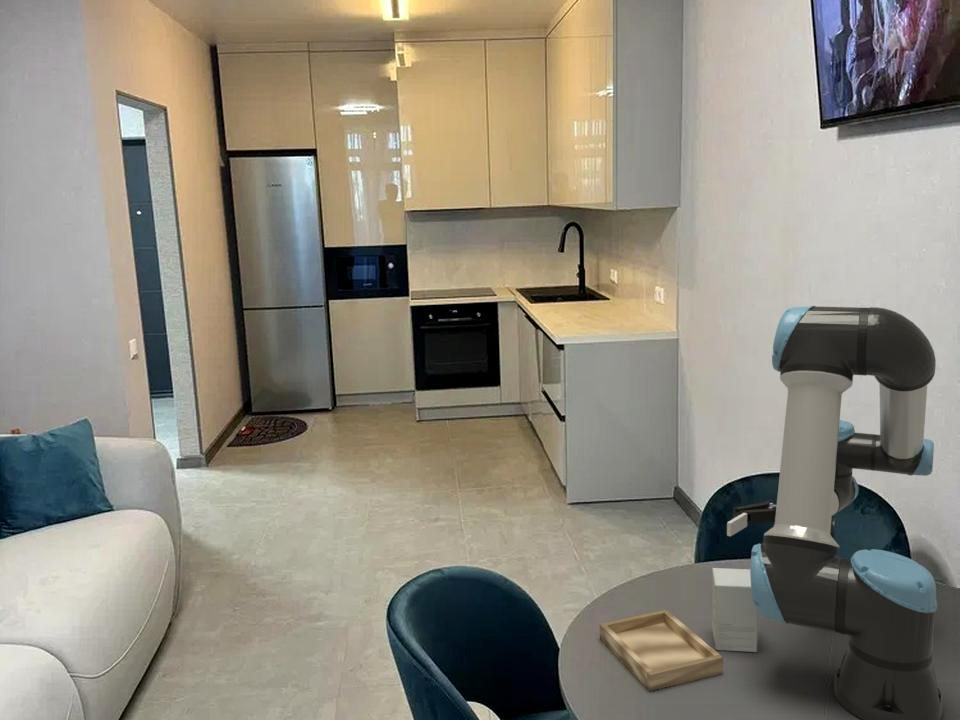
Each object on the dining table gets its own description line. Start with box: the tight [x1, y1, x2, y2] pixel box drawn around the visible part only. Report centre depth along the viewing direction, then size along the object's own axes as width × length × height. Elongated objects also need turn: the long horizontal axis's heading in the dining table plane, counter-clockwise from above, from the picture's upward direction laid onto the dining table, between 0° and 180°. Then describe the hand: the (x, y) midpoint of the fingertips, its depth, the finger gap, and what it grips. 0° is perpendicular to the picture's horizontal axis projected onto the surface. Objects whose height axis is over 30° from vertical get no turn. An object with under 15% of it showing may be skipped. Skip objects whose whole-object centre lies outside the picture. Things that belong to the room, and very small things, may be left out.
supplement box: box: [711, 567, 759, 653], centre depth 142 cm, size 7×7×13 cm
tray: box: [599, 609, 724, 692], centre depth 139 cm, size 18×14×3 cm
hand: (761, 538), depth 147 cm, fingers open, 13 cm apart
